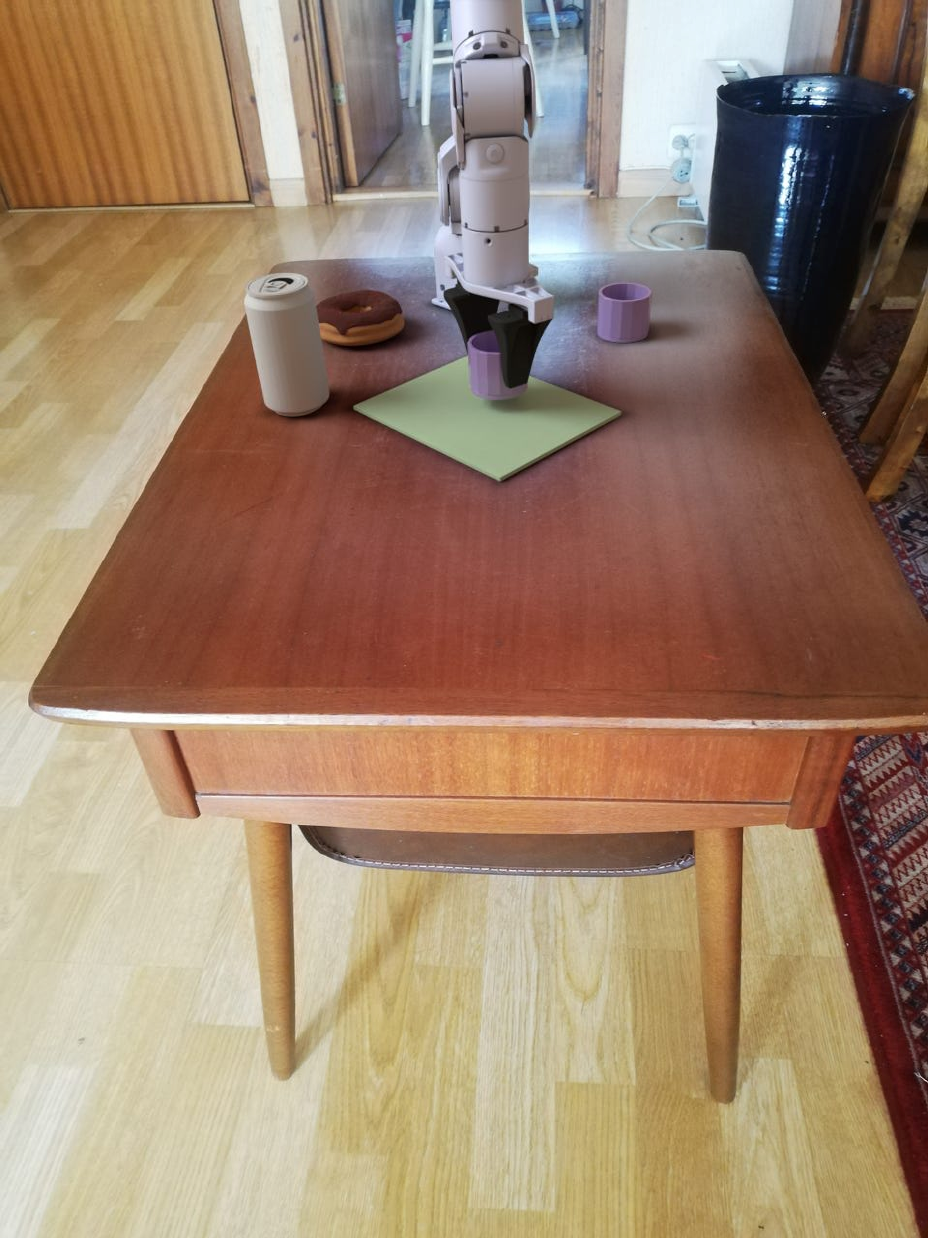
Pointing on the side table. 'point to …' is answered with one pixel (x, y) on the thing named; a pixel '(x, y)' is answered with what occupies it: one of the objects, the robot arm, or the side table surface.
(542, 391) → the placemat
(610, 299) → the faceted lilac cup
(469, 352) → the purple plastic cup
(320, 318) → the donut
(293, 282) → the beverage can
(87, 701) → the side table surface
